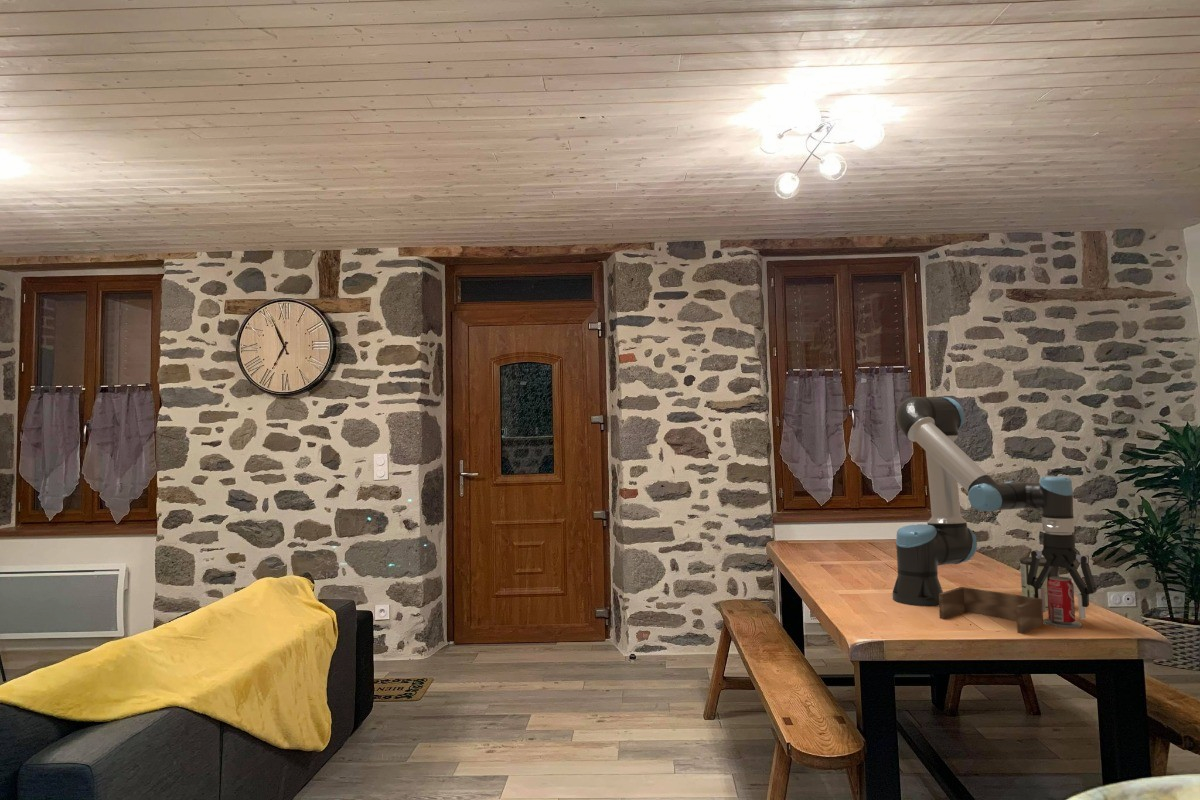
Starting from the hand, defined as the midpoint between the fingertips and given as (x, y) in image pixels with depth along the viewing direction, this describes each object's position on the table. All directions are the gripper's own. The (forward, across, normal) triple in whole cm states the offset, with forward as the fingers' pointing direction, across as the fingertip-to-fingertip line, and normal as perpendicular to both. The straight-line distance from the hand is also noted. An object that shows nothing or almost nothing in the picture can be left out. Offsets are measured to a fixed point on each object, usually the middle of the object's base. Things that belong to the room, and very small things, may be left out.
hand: (1062, 615), depth 203 cm
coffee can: (+3, -12, +18) cm, 22 cm away
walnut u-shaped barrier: (+3, -14, -12) cm, 19 cm away
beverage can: (+2, 0, 0) cm, 2 cm away
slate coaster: (+3, 0, 0) cm, 3 cm away
